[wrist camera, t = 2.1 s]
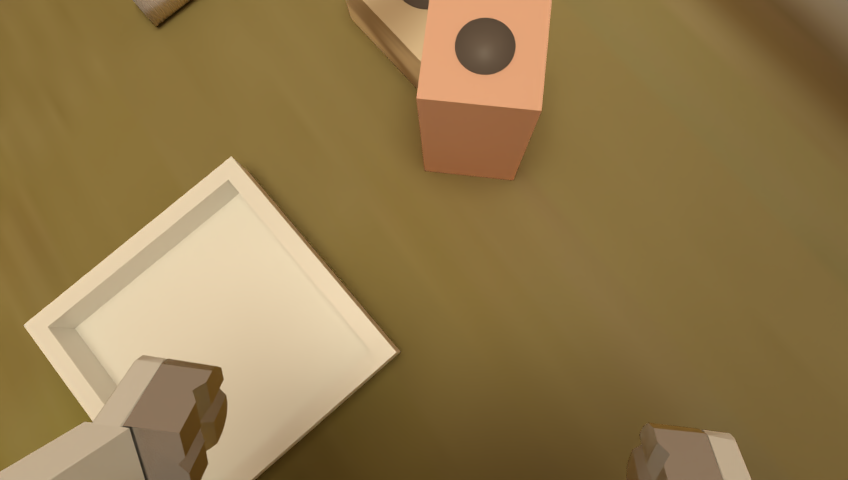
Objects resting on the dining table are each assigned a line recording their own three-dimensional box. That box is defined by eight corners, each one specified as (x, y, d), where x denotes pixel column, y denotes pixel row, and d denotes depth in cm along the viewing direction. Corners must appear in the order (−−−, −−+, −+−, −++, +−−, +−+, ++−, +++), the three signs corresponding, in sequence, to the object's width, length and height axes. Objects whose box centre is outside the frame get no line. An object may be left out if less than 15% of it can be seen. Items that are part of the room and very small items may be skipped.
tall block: (513, 180, 30) (542, 109, 21) (424, 170, 30) (416, 97, 21) (521, 96, 31) (552, -6, 22) (435, 88, 31) (430, -16, 22)
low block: (509, 27, 32) (518, -20, 28) (424, 98, 31) (421, 61, 27) (434, -48, 33) (433, -103, 29) (351, 20, 32) (337, -27, 28)
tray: (400, 351, 29) (396, 352, 26) (204, 524, 28) (180, 542, 25) (249, 172, 31) (231, 156, 28) (59, 327, 30) (23, 325, 27)
